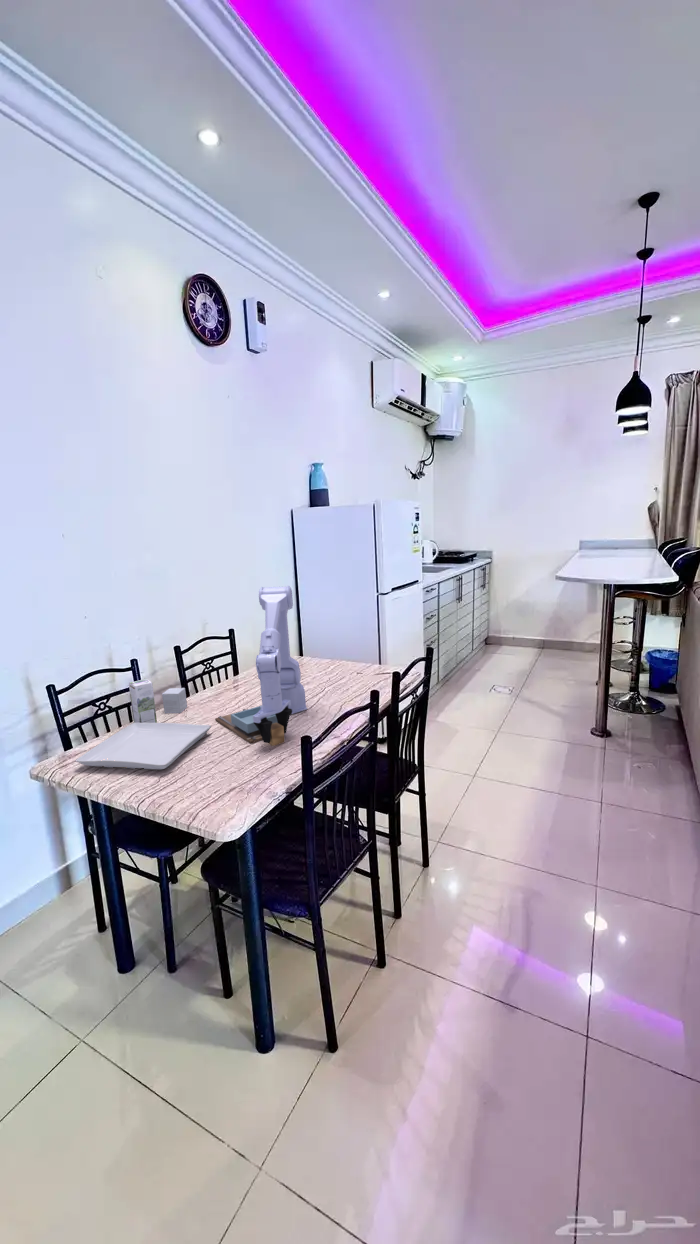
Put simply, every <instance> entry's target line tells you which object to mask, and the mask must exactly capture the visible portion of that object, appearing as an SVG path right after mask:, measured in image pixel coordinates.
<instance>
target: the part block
mask: <svg viewBox="0 0 700 1244" xmlns="http://www.w3.org/2000/svg"><path fill="white" fill-rule="evenodd" d="M270 733H271V741H270V743H267V744H268V745H270V746H272V747H275V746H278V745H280V744H283V743H285V742H286V741H285V740H286V739H285V734H284V726H282V725H280V724H278V723H277V722H276V723H273V724H272V725H271V732H270Z"/></svg>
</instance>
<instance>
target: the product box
mask: <svg viewBox="0 0 700 1244" xmlns="http://www.w3.org/2000/svg"><path fill="white" fill-rule="evenodd" d="M186 693H187V692H186V688H185V687H175V688H174V687H169V688H168V689H166V690H165V691H163V692H162V693H161V697H162V705H163V712H164V714H181V713H182V712H184V710H186V709H187V708H188V703H187V702H188V701H187V694H186Z"/></svg>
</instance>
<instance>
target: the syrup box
mask: <svg viewBox="0 0 700 1244" xmlns="http://www.w3.org/2000/svg"><path fill="white" fill-rule="evenodd" d="M128 687H129V688H128V689H129V696H130V703H131V709H132V710H131V711H132V718H133V719H132V720H133V723H158V721H157V713H156V712H157V711H156V705H155V697H154V696H155V695H154V687H153V682H152V681H151V680H149V679H147V678H144V679H140V680H136V681H132V682H128Z"/></svg>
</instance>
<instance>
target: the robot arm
mask: <svg viewBox="0 0 700 1244" xmlns="http://www.w3.org/2000/svg"><path fill="white" fill-rule="evenodd" d="M292 591H293V589H292V588H291V586H290V585H285V586H261V587H260V588H259V591H258V600H259V601H258V602H259V605H260V606H261V608H262V610H263V611H265V613H264V615H265V618H264V619H265V621H264V622H265V627H264V628H265V630H263V631H262V632H261V634H260V641H259V643H260V644H259V652H258V653H259V654H257V655H256V657H255V668H256V673H257V677H258V680H259V683H260V686H259V687H260V696H261V705H260V706H261V707H260V708H261V710H260V711H259V712H258V713H257V714H255V715H254V716H253V722H254V724H255V725H256V727H257V728H258V730H259V732H260V734H261V736H262V739H263V740H262V742H263V743H266V744H268V743H270V741H271V733H270V732H271V725H272V721H268V719H267V717H269V716H271V715H273V714H275V715H276V718H277V722H278V724H280V725H282V726H284V735H285V734H287V730H288V724H289V720H290V718H291V715H293V714H296V713H300V712H303V711H306V710H308V707H307V702H306V690H305V688H304V687H305V686H304V685H303V684H302V683H301V680H302V677H301V676H302V675H301V674H302V673H301V668H300V663H299V661H298V660H296V659H295V658H293V657H292V656H291V649H290V648H291V647H290V637H289V636H290V635H289V625H288V612H289V610H291V609H293V606H294V599H293V592H292Z"/></svg>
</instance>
